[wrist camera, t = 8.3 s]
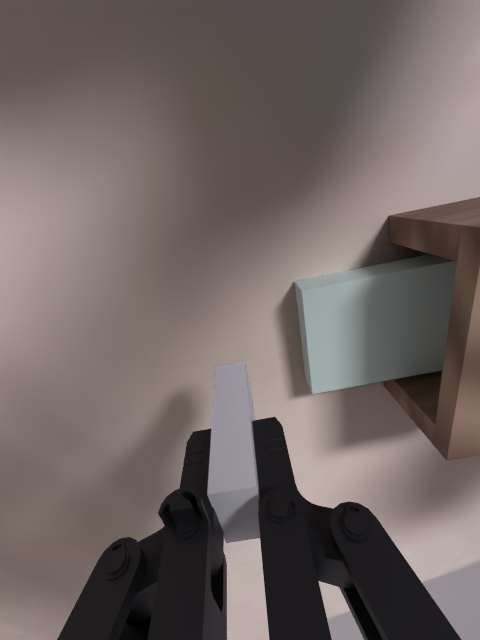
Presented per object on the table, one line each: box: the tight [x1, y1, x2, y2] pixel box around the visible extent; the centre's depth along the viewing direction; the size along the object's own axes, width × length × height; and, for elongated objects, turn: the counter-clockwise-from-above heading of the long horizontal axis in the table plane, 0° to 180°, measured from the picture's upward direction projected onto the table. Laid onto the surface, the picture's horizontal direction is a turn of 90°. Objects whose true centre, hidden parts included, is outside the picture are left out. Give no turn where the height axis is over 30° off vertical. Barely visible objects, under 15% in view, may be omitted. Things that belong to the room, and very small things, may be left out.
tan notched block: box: [384, 197, 480, 461], centre depth 17 cm, size 13×7×7 cm, turn 11°
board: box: [294, 254, 457, 394], centre depth 19 cm, size 8×11×2 cm
